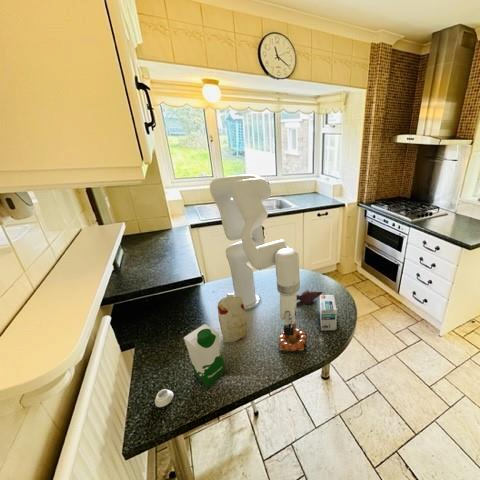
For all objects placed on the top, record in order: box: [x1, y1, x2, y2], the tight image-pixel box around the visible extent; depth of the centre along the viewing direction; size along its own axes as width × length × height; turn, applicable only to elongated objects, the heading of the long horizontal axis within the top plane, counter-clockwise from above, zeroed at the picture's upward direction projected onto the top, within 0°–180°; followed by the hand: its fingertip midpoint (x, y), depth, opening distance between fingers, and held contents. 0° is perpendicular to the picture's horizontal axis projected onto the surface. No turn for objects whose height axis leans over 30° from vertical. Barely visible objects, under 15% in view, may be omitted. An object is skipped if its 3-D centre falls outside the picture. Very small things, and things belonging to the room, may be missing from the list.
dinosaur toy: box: [296, 289, 324, 307], centre depth 122 cm, size 7×7×15 cm
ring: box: [278, 328, 307, 352], centre depth 99 cm, size 10×10×2 cm
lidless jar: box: [154, 388, 174, 408], centre depth 79 cm, size 5×3×5 cm
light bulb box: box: [319, 294, 338, 332], centre depth 110 cm, size 11×7×11 cm, turn 4°
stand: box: [279, 318, 306, 351], centre depth 99 cm, size 9×9×11 cm
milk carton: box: [183, 323, 226, 388], centre depth 84 cm, size 9×9×20 cm
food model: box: [216, 296, 248, 343], centre depth 99 cm, size 10×7×20 cm
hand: (290, 324), depth 92 cm, fingers open, 9 cm apart
